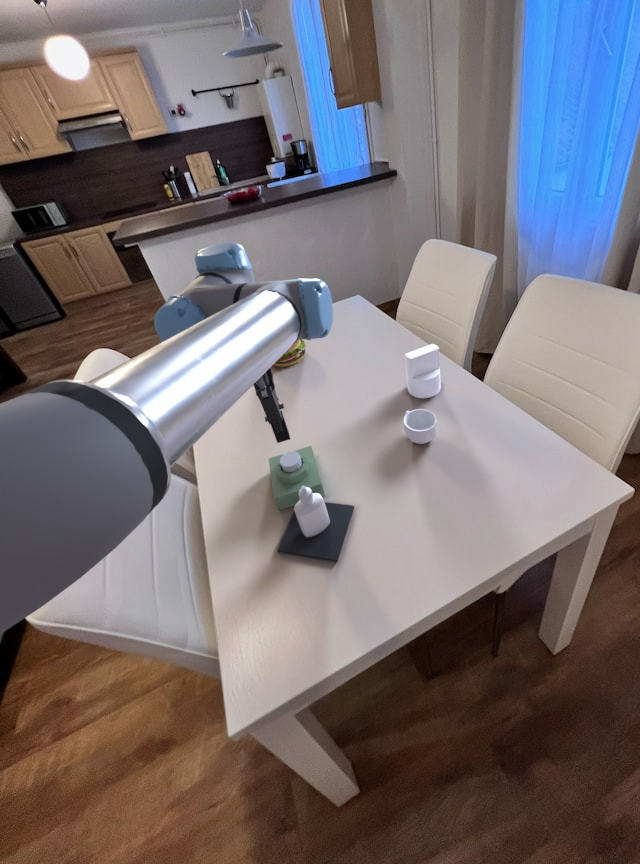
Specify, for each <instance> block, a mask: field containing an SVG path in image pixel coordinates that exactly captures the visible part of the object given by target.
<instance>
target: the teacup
mask: <svg viewBox="0 0 640 864" xmlns="http://www.w3.org/2000/svg"><path fill="white" fill-rule="evenodd" d="M402 423H403V430H404V434H405V436H406V437H407V439H408V440H409V441H411V442H412V443H415V444H417V445H422V444H424V445H425V444H427V443H429V442H431V441H432V440H433V439H434V438H435V436H436V433H437V428H438V419H437V416H436V415H435V414H434V413H433V412H432V411H430V410H428V409H423V408H417V409H413V410H406V411H405V415H404V417H403V422H402Z"/></svg>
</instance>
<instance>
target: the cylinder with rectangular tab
mask: <svg viewBox="0 0 640 864" xmlns="http://www.w3.org/2000/svg"><path fill="white" fill-rule="evenodd" d="M404 356H405V357H404V358H405V359H404V360H405V370H406V371H405V372H406V373H405V374H406V385H407V386H406V387H407V391H408V394H409V395H411V396H412V397H414V398H418V399H428V398H433V397H434V396H436V395H438V394H439V393H440V391H441V389H442V388H441V387H442V386H441V368H440V367H441V365H440V364H441V363H440V362H441V361H440V347H439V346H438V345H436V344H435V343H430V344H428V345H426V346H423V347H420V348H417V349H414V350H412V351H409V352H406V353H405V354H404Z"/></svg>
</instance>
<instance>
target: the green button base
mask: <svg viewBox="0 0 640 864" xmlns="http://www.w3.org/2000/svg"><path fill="white" fill-rule="evenodd" d="M293 451H294V452H297V453H299V455H300V457H301V461H302V466H301V468H300V469H299V470H297V471H296V472H293V473H286V472H284V471H283V470H282V467H281V464H280V458H281V457H282V455H284V454H285V453H282V454H278V455H276V456H273V457H269V458H268V464H269V471H270V478H271V479H270V480H271V487H272V494H273V500H274V502H275V505H276V507H277V509H278V511H283V510H286V509H288V508H292V507H295V505H296V504H297V502H298V501H299V500H300V498H299V495H298V493H299V491H300V489H301V487H302V486H305V487H309V488H310V489H311V490H312V493H319V494H320V495H321V496H322V498H323V497H325V496H326V494H325V490H324V486H323V484H322V478H321V475H320V472H319V468H318V465H317V461H316V457H315V453H314V450H313V447H312V445H308V446H305V447H302V448H299V449H296V450H293Z"/></svg>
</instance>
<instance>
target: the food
mask: <svg viewBox="0 0 640 864" xmlns="http://www.w3.org/2000/svg"><path fill="white" fill-rule="evenodd" d="M306 346H307V345H306V343H305V341H304V339H299V340H297V341H296V342H295V343H294V344H293V345H292V346H291V347H290V348H289V349H288V350H287V351H286V352H285V353H284V354H283V355H282V356H281V357H280V358H279V359H278V360H277V361H276V362H275V363H274V364H273V365H272V366H275V367H278V368H279V367H281V368H282V367H290V366H293V365H295V364H297V363H299V362H300V361H302V360H303V359H304V357H305V354H306Z"/></svg>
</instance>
